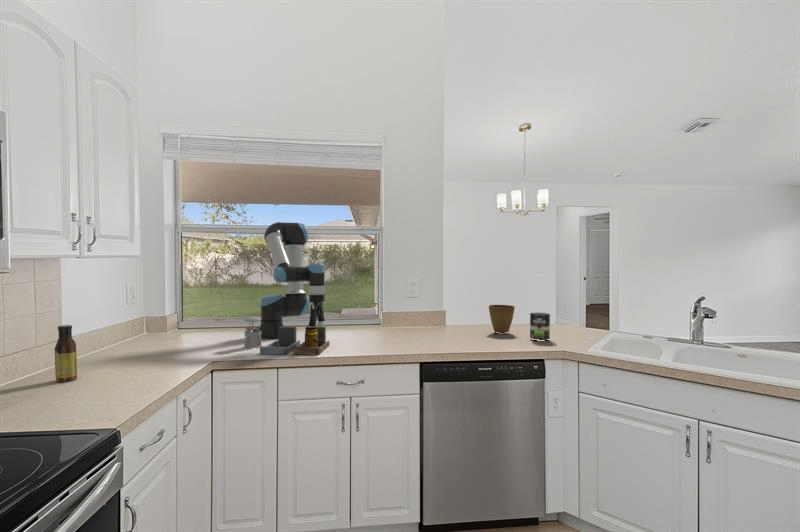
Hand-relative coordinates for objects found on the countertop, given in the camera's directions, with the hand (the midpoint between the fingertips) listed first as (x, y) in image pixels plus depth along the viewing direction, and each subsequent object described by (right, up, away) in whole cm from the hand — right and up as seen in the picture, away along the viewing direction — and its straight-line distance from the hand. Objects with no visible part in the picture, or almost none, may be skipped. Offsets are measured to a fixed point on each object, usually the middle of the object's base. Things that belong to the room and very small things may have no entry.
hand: (317, 336), depth 216 cm
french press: (-32, -5, -1) cm, 32 cm away
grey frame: (-16, -5, -8) cm, 18 cm away
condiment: (-1, -5, -14) cm, 15 cm away
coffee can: (+117, -5, +17) cm, 118 cm away
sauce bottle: (-78, -6, -61) cm, 99 cm away
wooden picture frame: (-1, -5, -9) cm, 11 cm away
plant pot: (+101, -4, +38) cm, 108 cm away
